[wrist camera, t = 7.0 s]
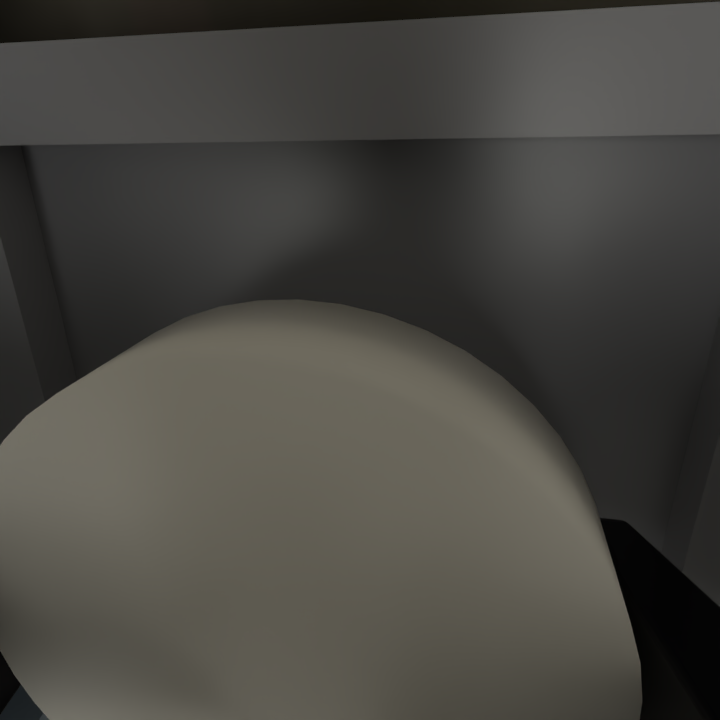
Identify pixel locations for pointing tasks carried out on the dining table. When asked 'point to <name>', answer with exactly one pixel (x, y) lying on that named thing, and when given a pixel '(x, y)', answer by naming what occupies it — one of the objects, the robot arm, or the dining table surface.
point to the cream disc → (305, 534)
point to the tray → (398, 215)
